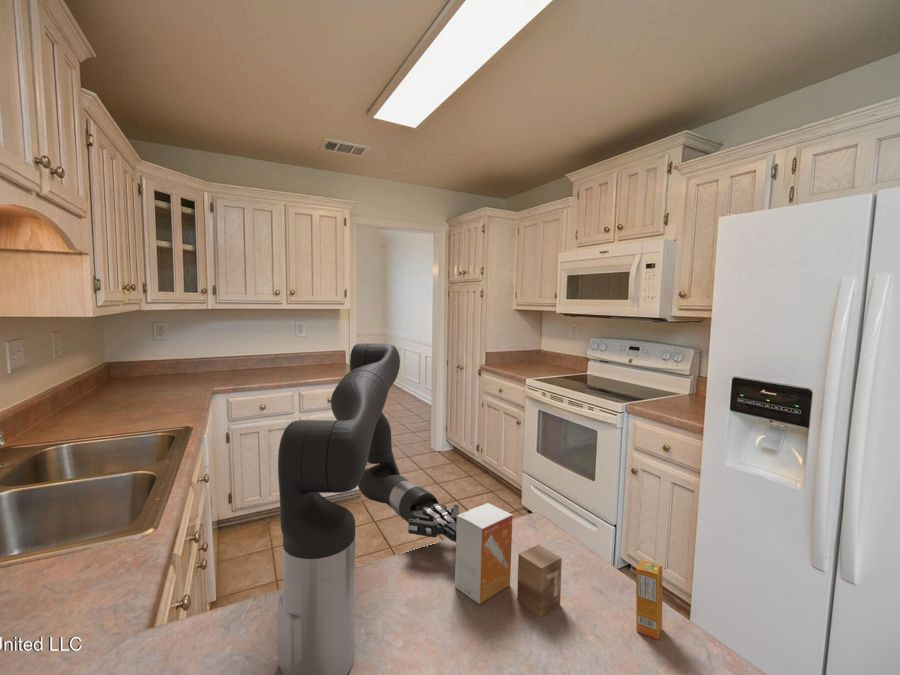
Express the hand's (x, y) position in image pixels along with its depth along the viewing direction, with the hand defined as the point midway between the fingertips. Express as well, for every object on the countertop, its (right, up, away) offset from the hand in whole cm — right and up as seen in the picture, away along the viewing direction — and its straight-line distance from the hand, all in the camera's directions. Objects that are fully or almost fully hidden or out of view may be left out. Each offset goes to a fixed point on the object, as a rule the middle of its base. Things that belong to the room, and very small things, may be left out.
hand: (460, 537), depth 78 cm
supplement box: (+28, -7, -15) cm, 33 cm away
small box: (+4, -7, -5) cm, 9 cm away
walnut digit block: (+13, -7, -9) cm, 17 cm away
